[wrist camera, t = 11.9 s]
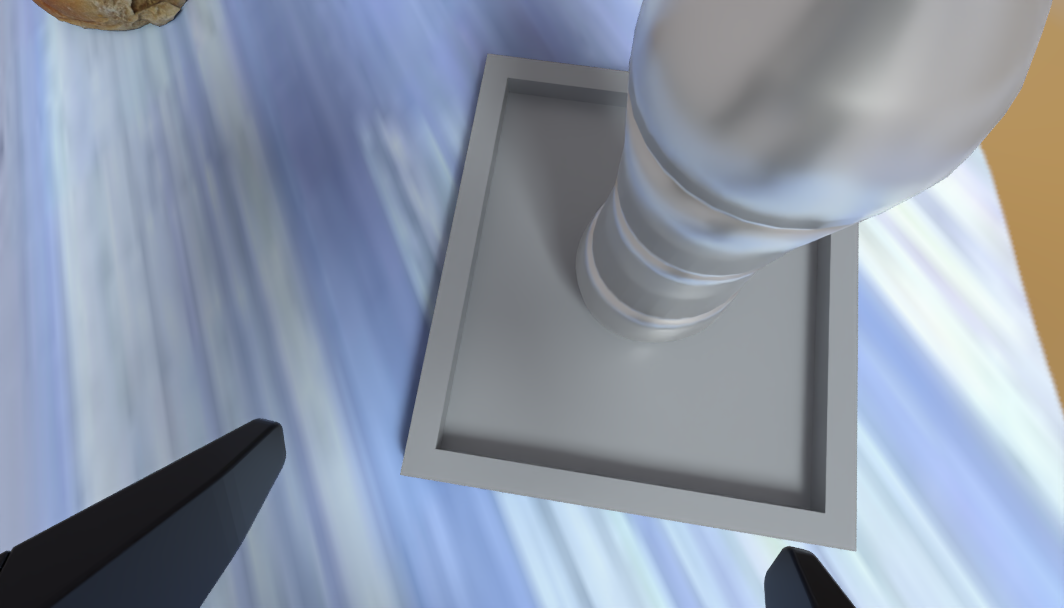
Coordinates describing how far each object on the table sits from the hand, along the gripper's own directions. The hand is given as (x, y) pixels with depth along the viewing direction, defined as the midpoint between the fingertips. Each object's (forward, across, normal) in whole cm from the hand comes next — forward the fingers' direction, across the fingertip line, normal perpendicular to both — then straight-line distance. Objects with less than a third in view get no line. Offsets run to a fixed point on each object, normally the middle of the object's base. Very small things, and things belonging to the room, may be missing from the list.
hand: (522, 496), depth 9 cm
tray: (+16, -3, +3) cm, 17 cm away
